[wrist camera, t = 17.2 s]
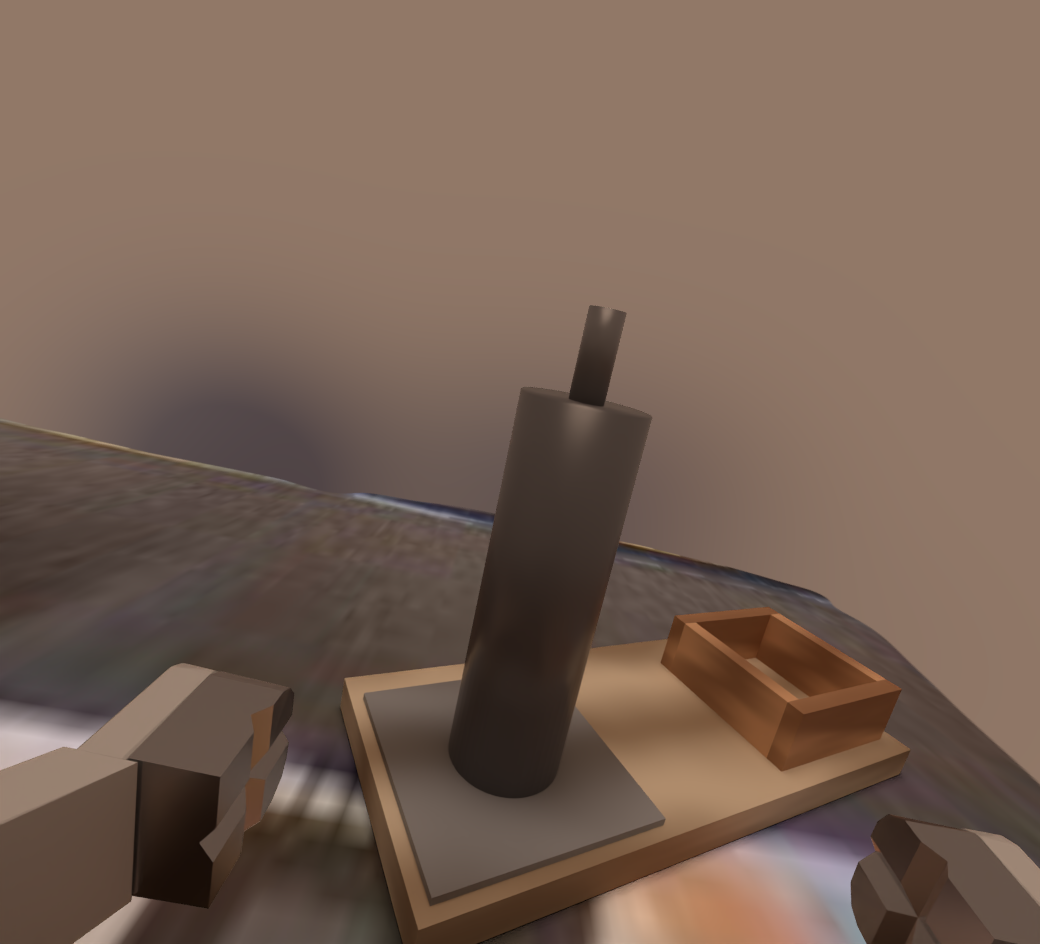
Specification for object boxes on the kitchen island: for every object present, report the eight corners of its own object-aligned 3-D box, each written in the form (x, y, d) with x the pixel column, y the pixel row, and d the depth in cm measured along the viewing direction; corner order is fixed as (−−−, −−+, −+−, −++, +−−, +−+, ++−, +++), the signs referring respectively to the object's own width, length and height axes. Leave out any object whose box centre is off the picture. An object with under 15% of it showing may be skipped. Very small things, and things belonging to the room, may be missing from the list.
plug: (432, 722, 22) (516, 291, 18) (525, 705, 24) (618, 318, 20) (475, 811, 18) (592, 297, 14) (580, 782, 21) (707, 328, 17)
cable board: (340, 707, 24) (353, 618, 23) (732, 649, 37) (752, 590, 36) (409, 970, 15) (436, 843, 14) (899, 773, 28) (933, 699, 27)
